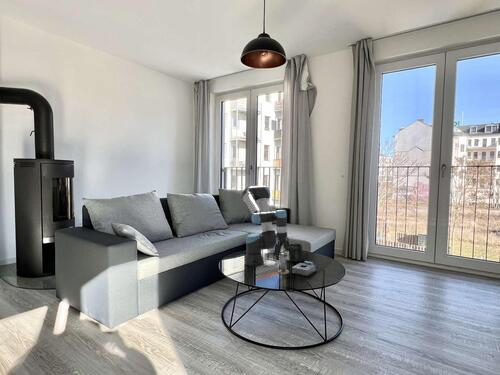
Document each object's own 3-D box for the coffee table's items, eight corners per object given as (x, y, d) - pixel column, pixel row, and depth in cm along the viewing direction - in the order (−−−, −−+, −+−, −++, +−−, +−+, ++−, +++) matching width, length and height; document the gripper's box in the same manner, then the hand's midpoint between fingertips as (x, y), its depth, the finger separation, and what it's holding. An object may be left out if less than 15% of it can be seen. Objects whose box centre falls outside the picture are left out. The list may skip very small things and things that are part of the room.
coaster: (275, 272, 207) (275, 272, 207) (281, 269, 213) (281, 268, 213) (285, 274, 202) (285, 274, 202) (291, 271, 208) (291, 270, 208)
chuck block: (292, 272, 205) (291, 265, 205) (302, 266, 217) (302, 260, 217) (307, 276, 198) (307, 268, 197) (317, 269, 209) (316, 262, 209)
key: (286, 272, 204) (285, 254, 203) (278, 271, 208) (277, 253, 207) (288, 271, 207) (287, 253, 206) (280, 269, 211) (280, 252, 210)
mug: (304, 261, 230) (304, 246, 230) (286, 262, 229) (286, 247, 228) (300, 257, 241) (300, 243, 240) (283, 258, 240) (283, 244, 239)
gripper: (277, 235, 194) (278, 267, 195) (294, 229, 213) (295, 258, 214) (268, 234, 199) (269, 265, 200) (285, 228, 217) (287, 257, 219)
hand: (283, 262), depth 207 cm, fingers open, 11 cm apart
